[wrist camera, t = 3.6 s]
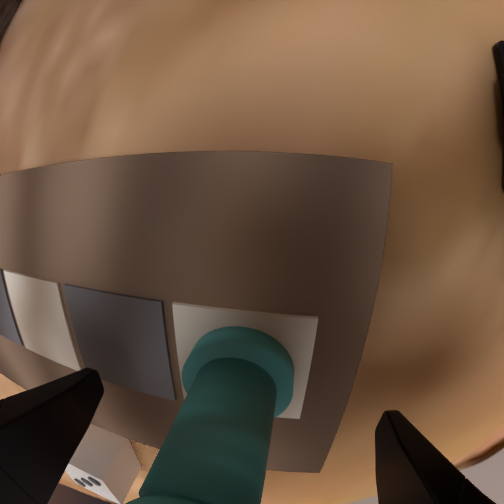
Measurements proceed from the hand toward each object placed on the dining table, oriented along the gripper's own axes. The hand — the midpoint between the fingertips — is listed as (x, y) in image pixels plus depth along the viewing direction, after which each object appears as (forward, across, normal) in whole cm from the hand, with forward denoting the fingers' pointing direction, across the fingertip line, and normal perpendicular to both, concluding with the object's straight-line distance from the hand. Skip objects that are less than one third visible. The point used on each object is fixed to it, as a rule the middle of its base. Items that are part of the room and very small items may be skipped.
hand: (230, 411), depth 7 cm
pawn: (+2, 0, 0) cm, 2 cm away
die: (+4, +10, +11) cm, 15 cm away
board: (+3, +10, 0) cm, 11 cm away
